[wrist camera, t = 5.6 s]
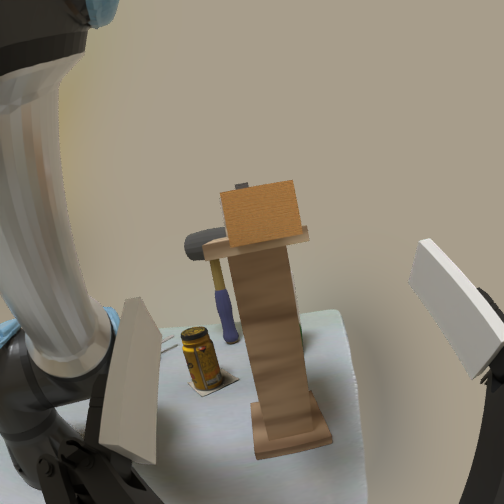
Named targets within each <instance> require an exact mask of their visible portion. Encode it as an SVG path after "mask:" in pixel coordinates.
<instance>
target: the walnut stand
mask: <svg viewBox="0 0 504 504" xmlns="http://www.w3.org/2000/svg"><path fill="white" fill-rule="evenodd" d="M302 231H303V234H300V235H295V236H289V237H284V238H279V239H274V240H269V241H263V242H258V243H253V244H248V245H243V246H238V247H233V248H230V243H229V238H227V237H225V238H220V239H215V240H212V241H210V242H208V243H206V244H204V245H202V248H203V253H204V258H205V261H209V260H215V259H219V258H225V257H228V263H229V267H230V272H231V277H232V281H233V287H234V292H235V296H236V301H237V306H238V310H239V315H240V319H241V324H242V329H243V334H244V338H245V343H246V347H247V352H248V356H249V360H250V365H251V369H252V373H253V378H254V382H255V386H256V391H257V395H258V399H259V402H254V403H250V404H251V416H252V428H253V440H254V451H255V456H256V459H257V460H260V459H266V458H272V457H277V456H282V455H287V454H292V453H296V452H301V451H305V450H309V449H313V448H317V447H321V446H324V445H328V444H331V443H332V435H331V433H330V431H329V429H328V426H327V424H326V422H325V420H324V418H323V415H322V413H321V411H320V409H319V407H318V404H317V402H316V400H315V398H314V396H313V393H312V391H311V390H310V391H309V390H308V383H307V375H306V368H305V361H304V353H303V346H302V340H301V333H300V326H299V320H298V313H297V307H296V301H295V295H294V288H293V282H292V277H291V271H290V265H289V259H288V253H287V248H286V245H291V244H296V243H302V242H307V241H309V235H308V229H307V226H306V225H302Z"/></svg>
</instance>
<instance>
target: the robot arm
mask: <svg viewBox="0 0 504 504" xmlns="http://www.w3.org/2000/svg"><path fill="white" fill-rule="evenodd" d="M118 3H119V0H0V295H1V296H2V298H3V300H4V301H5V303H6V304H7V306H8V308H9V309H10V311H11V312H12V314H13V315H14V317H15V318H16V319H13V320H8V321H5V322H3V323H1V324H0V434H1V435H2V437H3V438H4V441H5V443H6V446H7V449H8V452H9V454H10V457H11V459H12V462H13V464H14V467H15V469H16V470H17V472H18V473H19V475H20V476H21V477H22V478H23V479H24V481H25V482H26V483H27V484H29V485H30V486H32V487H34V488H36V489H39V490H42V493H43V496H44V499H45V502H46V504H164V503H163V502H162V501H161V500H160V498H159V497H158V496H157V495H156V494H155V493H154V492H153V491H152V490H151V488H150V487H149V486H148V485H147V484H146V483H145V481H144V480H143V479H142V478H141V477H140V475H139V474H138V473H137V472H136V470H135V469H134V468H133V467H132V461H134V462H136V463H138V464H156V424H157V398H158V381H159V367H160V355H161V344H162V334H161V333H160V331H159V329H158V328H157V326H156V324H155V322H154V321H153V319H152V317H151V315H150V313H149V312H148V310H147V308H146V306H145V304H144V302H143V301H142V299H141V297H137V298H131V299H126V300H125V303H124V307H123V311H122V315H121V319H120V318H119V316H118V314H117V312H116V311H115V309H113V308H112V307H103V306H102V305H101V304H100V303H99V302H98V301H97V300H96V299H94V298H93V297H91V296H89V295H88V292H87V289H86V286H85V282H84V279H83V275H82V272H81V268H80V264H79V260H78V257H77V253H76V249H75V244H74V240H73V235H72V231H71V226H70V221H69V216H68V210H67V204H66V198H65V191H64V184H63V176H62V167H61V158H60V144H59V123H58V90H59V89H58V88H59V85H60V82H61V80H62V79H63V77H64V76H65V75H66V74H67V73H68V72H69V71H70V70H71V69H72V68H73V66H74V65H75V64H76V63H77V62H78V61H79V60H80V59H81V58H82V57H83V56H84V53H85V45H86V39H87V32H88V30H89V29H90V28H95V29H98V28H99V27H102V26H105V25H108V24H109V23H110V22H111V21H112V20H113V18H114V16H115V14H116V10H117V7H118ZM408 283H409V285H410V286H411V288H412V289H413V290H414V292H415V293H416V295H417V296H418V297H419V299H420V300H421V301H422V303H423V304H424V306H425V307H426V309H427V310H428V311H429V313H430V314H431V316H432V317H433V319H434V320H435V322H436V323H437V325H438V326H439V328H440V329H441V331H442V332H443V334H444V335H445V337H446V338H447V340H448V341H449V343H450V345H451V346H452V348H453V350H454V351H455V353H456V355H457V356H458V358H459V360H460V361H461V363H462V365H463V366H464V368H465V370H466V372H467V373H468V375H469V377H470V379H471V380H472V379H474V378H475V377H477V376H479V375H480V374H482V373H483V371H484V370H485V369H486V368H487V367H488V366H489V367H490V370H489V371H488V372H487V373H486V374H485V376H484V377H483V378H482V379H481V382H480V384H482V383H483V382H484V381H485V380H486V379H487V381H486V382H485V385H487V389H486V399H485V406H484V413H483V418H482V424H481V429H480V434H479V439H478V444H477V448H476V452H475V456H474V459H473V463H472V467H471V470H470V473H469V477H468V479H467V482H466V485H465V488H464V491H463V494H462V497H461V499H460V502H459V504H504V314H503V312H502V311H501V310H500V309H499V308H498V306H497V305H496V303H494V301H493V300H492V298H491V297H490V296H489V295H488V294H487V293H486V292H485V291H483V290H482V289H480V288H475V286H474V285H473V284H472V283H471V282H470V281H469V279H468V278H467V277H466V276H465V275H464V274H463V273H462V272H461V270H460V269H459V268H458V267H457V266H456V265H455V264H454V263H453V262H452V261H451V260H450V259H449V257H448V256H447V255H446V254H445V253H444V252H443V251H442V250H441V249H440V248H439V247H438V246H437V245H436V244H435V243H434V242H433V241H432V240H431V239H430V238H429V239H424V240H421V241H419V242H418V246H417V250H416V254H415V259H414V262H413V266H412V270H411V274H410V278H409V281H408ZM21 327H22V328H23V329H22V328H21ZM87 399H90V403H89V407H90V408H89V409H88V415H87V422H86V429H85V437H84V439H83V438H82V437H81V435H80V434H79V433H78V432H77V431H75V430H74V429H73V428H72V427H71V426H70V425H69V424H68V423H67V422H66V421H65V420H64V419H63V418H62V417H61V416H60V415H59V414H58V413H57V411H56V409H55V408H54V407H59V406H63V405H67V404H71V403H75V402H79V401H83V400H87Z"/></svg>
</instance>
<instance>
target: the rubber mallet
mask: <svg viewBox="0 0 504 504" xmlns="http://www.w3.org/2000/svg"><path fill="white" fill-rule="evenodd" d="M225 237H227V236H226V231H225V227H220V228H213V229H207V230H203V231H200V232H196V233H193V234H190V235H188V236H187V237H186V239H185V243H184V244H185V245H184V248H185V252H186V254H187V256H188V257H189V259H191V260H193V261H194V260H205V258H204V253H203V248H202V245H204V244H206V243H208V242H210V241H212V240H215V239H220V238H225ZM209 261H210V266H211V271H212V275H213V281H214V285H215V299H216V306H217V310H218V313H219V316H220V319H221V323H222V327H223V338H224V340H225V341H226V342H227V343H228V344H232V343H235V342H237V341H238V337H239V335H238V332H237V330H236V328H235V324H234V320H233V315H232V305H231V302H230V298H229V295H228V292H227V290H226V288H225V284H224V279H223V275H222V270H221V266H220V261H219V259H215V260H209Z"/></svg>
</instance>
